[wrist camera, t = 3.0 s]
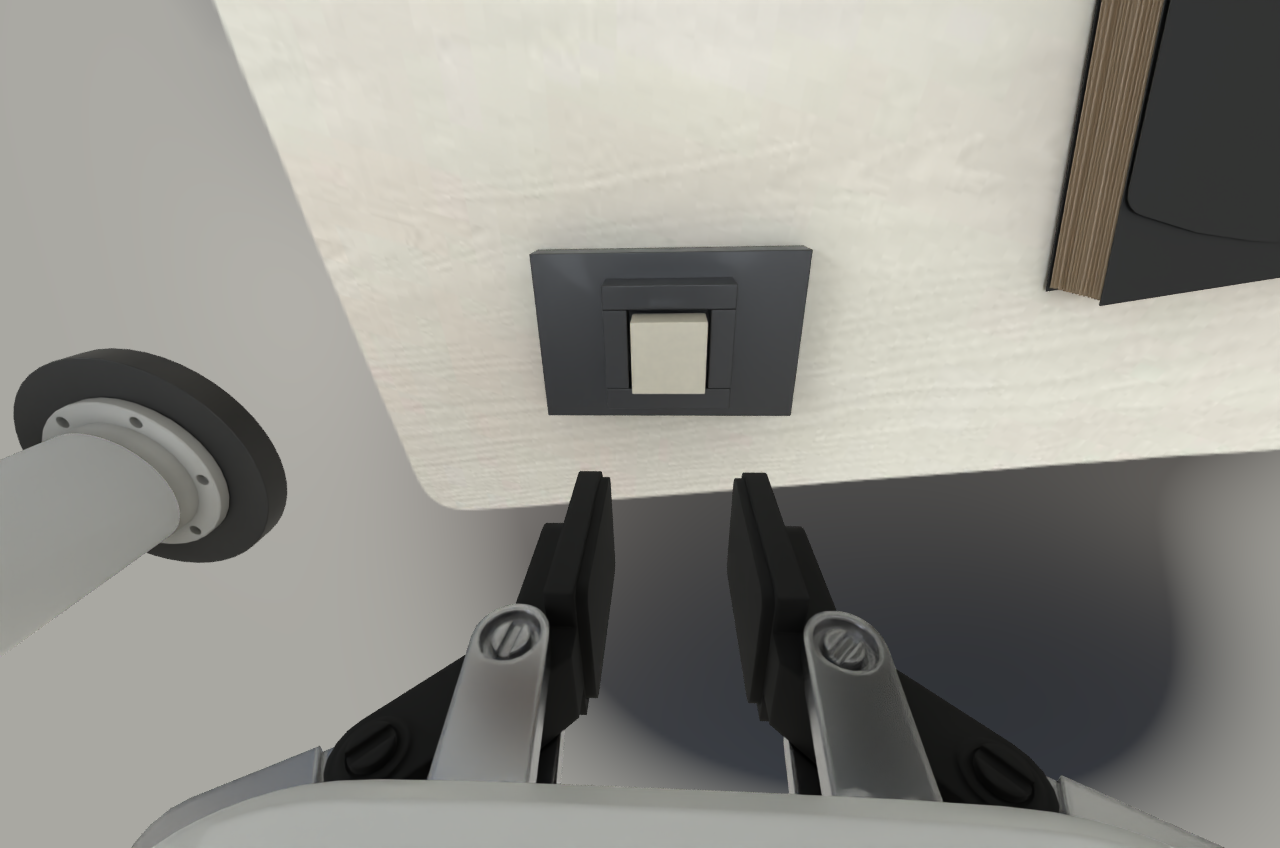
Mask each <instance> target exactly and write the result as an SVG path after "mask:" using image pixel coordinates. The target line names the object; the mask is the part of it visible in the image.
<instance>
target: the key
mask: <svg viewBox="0 0 1280 848" xmlns="http://www.w3.org/2000/svg"><path fill="white" fill-rule="evenodd" d="M707 336H708V321H707V318H706V314H705V313H654V314H632V318H631V322H630V337H631V370H632V394H705V382H706V359H707Z"/></svg>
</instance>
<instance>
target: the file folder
mask: <svg viewBox="0 0 1280 848" xmlns="http://www.w3.org/2000/svg"><path fill="white" fill-rule="evenodd" d="M1274 278H1280V0H1097V4H1096V9H1095V15H1094V21H1093V26H1092V32H1091V38H1090V43H1089V49H1088V55H1087V60H1086V66H1085V72H1084V77H1083V83H1082V88H1081V94H1080V100H1079V105H1078V111H1077V117H1076V122H1075V128H1074V134H1073V139H1072V145H1071V150H1070V156H1069V162H1068V167H1067V173H1066V179H1065V184H1064V190H1063V195H1062V201H1061V207H1060V212H1059V218H1058V224H1057V229H1056V235H1055V241H1054V246H1053V252H1052V257H1051V263H1050V269H1049V274H1048V280H1047V286H1046V292H1047V291H1053V290H1063V291H1066V292H1072V293H1075V294H1079V295H1083V296H1088V298H1089V297H1091V299H1092V298H1094V299H1097V300H1100V303H1099V306H1103V305H1109V304H1116V303H1122V302H1128V301H1135V300H1141V299H1147V298H1154V297H1160V296H1166V295H1173V294H1179V293H1185V292H1192V291H1198V290H1204V289H1211V288H1217V287H1223V286H1230V285H1236V284H1242V283H1249V282H1255V281H1261V280H1267V279H1274Z"/></svg>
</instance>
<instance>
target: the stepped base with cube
mask: <svg viewBox="0 0 1280 848" xmlns="http://www.w3.org/2000/svg"><path fill="white" fill-rule="evenodd" d="M812 252H813V250H812V249H810V248H807V247H805V246H745V247H682V248H618V249H555V250H537V251H535V252H533V253H531V254H530V263H531V271H532V280H533V288H534V297H535V305H536V314H537V322H538V331H539V339H540V348H541V356H542V364H543V373H544V381H545V390H546V398H547V407H548V414H549V415H700V416H790V415H791V408H792V401H793V393H794V386H795V378H796V371H797V363H798V356H799V349H800V341H801V334H802V326H803V319H804V311H805V304H806V296H807V289H808V281H809V274H810V267H811V259H812ZM654 313H705V314H706V318H707V321H708V336H707V359H706V382H705V394H632V370H631V337H630V322H631V318H632V314H654Z"/></svg>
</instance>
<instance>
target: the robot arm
mask: <svg viewBox="0 0 1280 848" xmlns="http://www.w3.org/2000/svg"><path fill="white" fill-rule="evenodd" d="M228 508H229V492H228V487H227V483H226V480H225V478H224V476H223V473H222V471H221V469H220V467H219V466H218V464H217V463H216V461H215V460H214V458H213V457H212V455H211V454H210V453H209V452H208V451H207V450H206V448H205V447H204V446H203V445H202V444H201V443H200V442H199V441H198V440H197V439H196V438H195V437H193V436H192V435H191V434H190V433H189V432H188V431H187V430H185V429H184V428H182V427H181V426H180V425H178V424H177V423H175V422H174V421H172V420H171V419H169V418H167V417H165V416H163V415H162V414H160V413H158V412H156V411H154V410H152V409H149V408H146V407H144V406H141V405H139V404H136V403H133V402H129V401H125V400H121V399H114V398H103V397H99V398H89V399H84V400H81V401H78V402H75V403H72V404H69V405H67V406H65V407H63V408H61V409H59V410H57V411H55V412H54V413H53V414H52V415H51V416H50V417H49V418H48V419H47V422H46V424H45V426H44V428H43V434H42V443H39V444H37V445H35V446H32V447H30V448H28V449H25V450H23V451H21V452H18V453H16V454H13V455H11V456H8V457H6V458H4V459H2V460H0V657H1V656H2V655H4V654H5V653H6V652H8V651H9V650H11V649H12V648H14V647H15V646H16V645H18V644H19V643H20V642H22V641H23V640H25V639H26V638H28V637H29V636H30V635H32V634H33V633H35V632H36V631H37V630H39V629H40V628H42V627H43V626H44V625H46V624H47V623H49V622H50V621H51V620H53V619H54V618H56V617H57V616H58V615H60V614H61V613H62V612H64V611H65V610H67V609H68V608H70V607H71V606H72V605H74V604H75V603H76V602H78V601H79V600H81V599H82V598H83V597H85V596H86V595H88V594H89V593H90V592H92V591H93V590H95V589H96V588H97V587H99V586H100V585H102V584H103V583H104V582H106V581H107V580H109V579H110V578H111V577H113V576H114V575H116V574H117V573H118V572H120V571H121V570H122V569H124V568H125V567H127V566H128V565H130V564H131V563H132V562H133V561H135V560H137V559H138V558H139V557H141V556H142V555H143V554H145V553H146V552H148V551H149V550H150V549H152V548H153V547H155V546H156V545H157V544H159V543H168V544H179V543H188V542H192V541H196V540H199V539H200V538H202V537H204V536H206V535H208V534H209V533H210V532H211V531H213V530H214V529H215V528H217V527H218V526H219V525H220V524H221V522H222V521H223V520H224V518H225V517H226V514H227V511H228ZM612 517H613V516H612V498H611V482H610V477H603V475H602V472H601V471H580V472H579V474H578V477H577V480H576V483H575V487H574V490H573V493H572V497H571V500H570V504H569V507H568V510H567V514H566V517H565V520H564V523H546V524H545V525H544V527H543V529H542V531H541V534H540V537H539V540H538V543H537V545H536V548H535V551H534V554H533V557H532V560H531V563H530V565H529V568H528V571H527V574H526V577H525V580H524V582H523V585H522V588H521V591H520V594H519V596H518V599H517V602H516V604H512V605H506V606H503V607H501V608H499V609H496V610H494V611H493V612H491V613H490V614H488V615H487V616H485V617H484V618H483V619H482V620H481V621H480V622H479V624H478V625H477V626H476V628H475V630H474V632H473V634H472V636H471V639H470V642H469V645H468V648H467V652H466V655H464V656H463V657H461V658H460V659H458V660H456V661H455V662H453V663H452V664H450V665H448V666H447V667H445V668H444V669H442V670H440V671H439V672H437V673H436V674H434V675H433V676H431V677H429V678H428V679H427V680H425V681H423V682H421V683H420V684H418V685H417V686H415V687H414V688H412V689H410V690H409V691H407V692H406V693H404V694H402V695H401V696H399V697H398V698H396V699H395V700H393V701H391V702H390V703H388V704H387V705H385V706H383V707H382V708H380V709H378V710H377V711H376V712H374V713H372V714H371V715H369V716H368V717H366V718H364V719H363V720H361V721H360V722H359V723H357V724H356V725H355V726H353V727H352V728H351V729H350V730H348V731H347V733H345V734H344V736H343V737H342V738H341V739H340V740H339V741H338V742H337V744H336V745H335V747H333V748H331V749H328V750H326V751H324V752H323V751H322V749H321V747H320V746H319V747H316V748H313V749H311V750H308V751H306V752H304V753H301V754H299V755H296V756H294V757H291V758H289V759H286V760H284V761H281V762H279V763H277V764H274V765H272V766H269V767H266V768H264V769H261V770H259V771H256V772H254V773H251V774H249V775H246V776H244V777H241V778H239V779H236V780H234V781H232V782H229V783H226V784H224V785H221V786H219V787H216V788H214V789H211V790H209V791H207V792H204V793H202V794H199V795H197V796H194V797H192V798H190V799H188V800H186V801H184V802H182V803H180V804H178V805H176V806H175V807H173V808H171V809H170V810H169V811H167V812H166V813H164V814H163V815H162V816H161V817H160V818H158V819H157V820H156V821H155V822H153V823H152V824H151V825H150V826H149V827H148V828H147V829H146V831H145V832H144V833H143V834H142V835H141V836H140V837H139V838H138V840H137V841H136V842H135V843H134V845H133V846H132V848H1224V847H1222V846H1220V845H1218V844H1216V843H1213V842H1211V841H1209V840H1207V839H1204V838H1202V837H1200V836H1198V835H1195V834H1193V833H1190V832H1188V831H1186V830H1184V829H1182V828H1179V827H1177V826H1175V825H1173V824H1170V823H1168V822H1166V821H1163V820H1161V819H1159V818H1157V817H1155V816H1152V815H1150V814H1148V813H1145V812H1143V811H1140V810H1139V809H1136V808H1134V807H1132V806H1130V805H1127V804H1125V803H1123V802H1121V801H1118V800H1116V799H1114V798H1111V797H1109V796H1107V795H1104V794H1102V793H1100V792H1098V791H1096V790H1093V789H1091V788H1089V787H1086V786H1084V785H1082V784H1080V783H1078V782H1075V781H1073V780H1071V779H1069V778H1066V777H1064V776H1061V777H1060V778H1059V780H1058V781H1055V780H1053V779H1051V778H1049V777H1046V775H1045V774H1044V772H1043V771H1042V770H1041V769H1040V768H1039V767H1038V766H1037V765H1036V764H1035V762H1034V761H1033V760H1032V759H1031V758H1030V757H1029V756H1027V755H1026V754H1025V753H1024V752H1022V751H1021V750H1020V749H1018V748H1017V747H1016V746H1015V745H1013V744H1012V743H1010V742H1008V741H1007V740H1006V739H1004V738H1002V737H1001V736H999V735H998V734H996V733H995V732H993V731H992V730H990V729H989V728H987V727H985V726H984V725H982V724H981V723H979V722H978V721H976V720H975V719H973V718H971V717H970V716H968V715H967V714H965V713H964V712H962V711H961V710H959V709H957V708H956V707H954V706H953V705H951V704H950V703H948V702H947V701H945V700H943V699H942V698H940V697H939V696H937V695H936V694H934V693H932V692H931V691H929V690H928V689H926V688H925V687H923V686H922V685H920V684H919V683H917V682H915V681H914V680H912V679H911V678H909V677H908V676H906V675H905V674H903V673H901V672H900V671H898V670H897V669H895V666H894V663H893V660H892V657H891V655H890V652H889V649H888V647H887V645H886V643H885V641H884V639H883V637H882V636H881V635H880V634H879V633H878V632H877V631H876V630H875V629H874V627H872V626H871V625H870V624H868V623H867V622H865V621H864V620H862V619H860V618H858V617H856V616H854V615H851V614H848V613H844V612H839V611H836V608H835V606H834V603H833V601H832V598H831V596H830V593H829V591H828V588H827V586H826V583H825V581H824V578H823V576H822V573H821V571H820V568H819V565H818V563H817V560H816V558H815V555H814V553H813V550H812V548H811V545H810V543H809V540H808V538H807V536H806V533H805V531H804V529H803V528H802V527H799V526H785V525H784V522H783V520H782V517H781V514H780V511H779V508H778V505H777V502H776V499H775V496H774V493H773V491H772V488H771V485H770V482H769V479H768V476H767V474H766V473H743V474H742V478H735V479H734V483H733V495H732V508H731V520H730V533H729V546H728V558H727V574H728V580H729V587H730V594H731V600H732V607H733V613H734V619H735V625H736V632H737V639H738V645H739V651H740V658H741V664H742V670H743V677H744V683H745V690H746V696H747V700H748V703H757V707H758V713H759V719H760V721H769V724H770V725H771V726H772V727H773V728H775V729H776V730H777V731H778V732H779V733H780V734H781V735H783V736H784V750H785V759H786V768H787V777H788V786H789V794H778V793H777V794H776V793H756V792H755V793H754V792H733V791H731V792H730V791H710V790H687V789H686V790H685V789H664V788H638V787H616V786H615V787H614V786H592V785H565V784H561V774H562V761H563V750H564V737H565V733H564V730H565V729H566V728H567V727H568V726H569V725H570V724H572V723H573V722H574V721H575V720H576V719H578V718H579V715H587V709H588V702H589V698H598V695H599V689H600V681H601V673H602V666H603V658H604V650H605V643H606V635H607V628H608V619H609V612H610V605H611V597H612V589H613V581H614V574H615V573H614V572H615V551H614V534H613V518H612Z"/></svg>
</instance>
